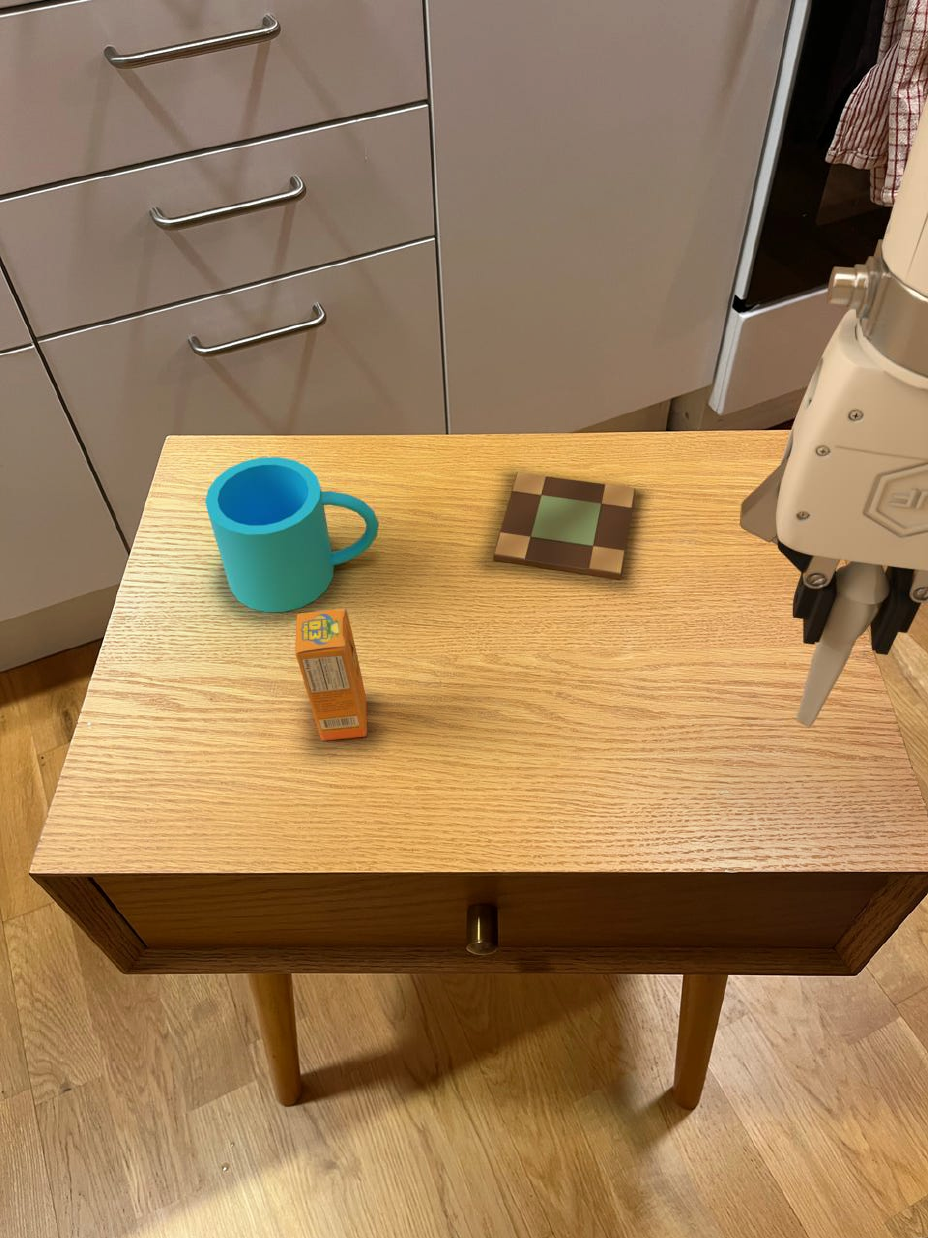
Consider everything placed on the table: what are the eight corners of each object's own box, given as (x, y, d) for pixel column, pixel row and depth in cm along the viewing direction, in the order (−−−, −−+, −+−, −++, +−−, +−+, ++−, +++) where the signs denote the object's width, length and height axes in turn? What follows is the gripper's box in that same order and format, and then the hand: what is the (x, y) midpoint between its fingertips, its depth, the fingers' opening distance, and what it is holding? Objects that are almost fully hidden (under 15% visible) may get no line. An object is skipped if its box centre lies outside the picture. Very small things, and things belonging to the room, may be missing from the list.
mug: (228, 619, 72) (204, 541, 65) (228, 542, 77) (205, 463, 71) (388, 598, 73) (380, 520, 66) (377, 524, 78) (368, 445, 72)
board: (634, 493, 80) (636, 487, 79) (620, 580, 74) (621, 573, 73) (516, 476, 81) (516, 470, 81) (492, 560, 75) (492, 554, 75)
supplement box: (316, 703, 66) (295, 608, 59) (366, 699, 67) (351, 604, 59) (316, 744, 64) (293, 650, 57) (367, 740, 64) (352, 646, 57)
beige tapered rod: (791, 697, 57) (855, 526, 46) (836, 717, 56) (910, 547, 45) (775, 726, 56) (836, 557, 45) (820, 747, 55) (893, 580, 44)
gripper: (744, 345, 35) (678, 661, 49) (1246, 391, 32) (1023, 712, 46) (751, 241, 39) (689, 556, 53) (1188, 273, 37) (1002, 597, 50)
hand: (844, 626), depth 49 cm, fingers closed on beige tapered rod, 2 cm apart
